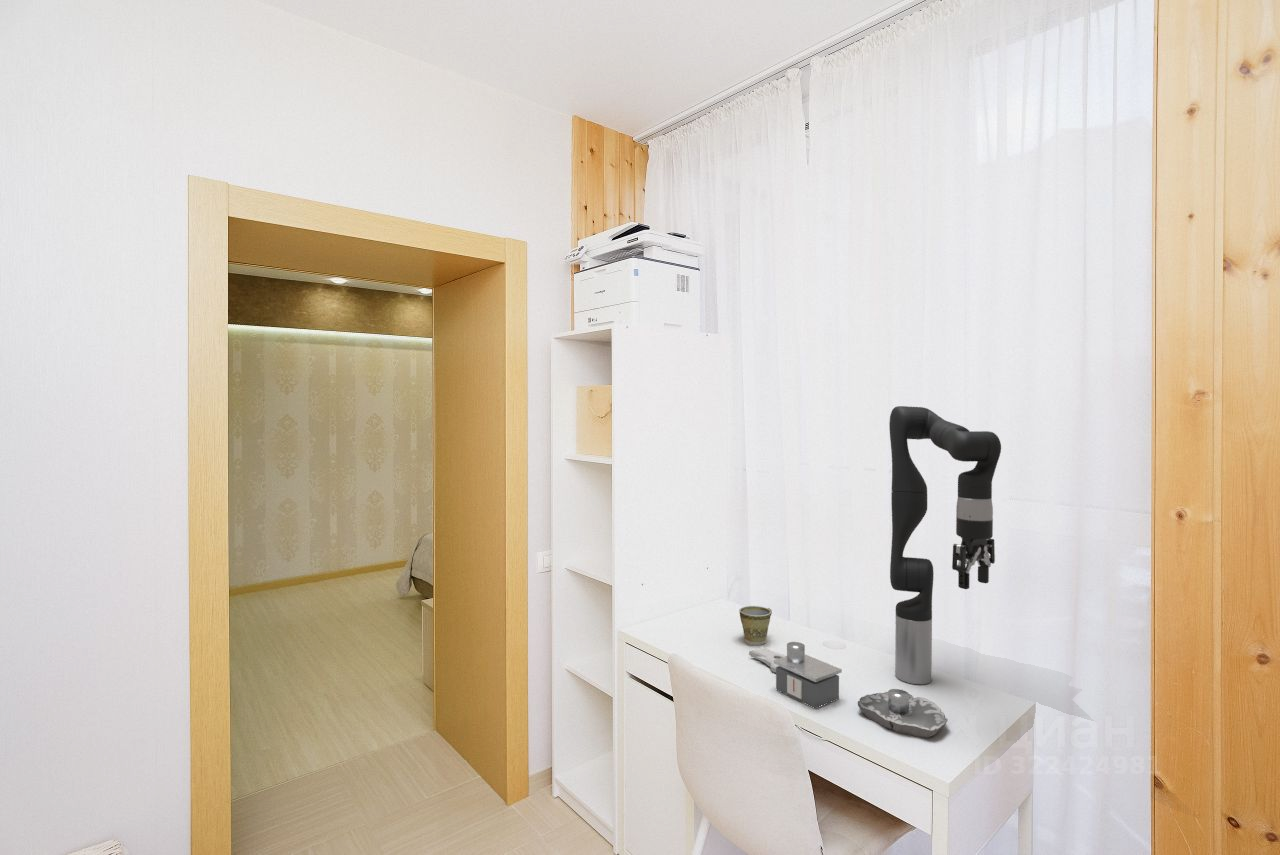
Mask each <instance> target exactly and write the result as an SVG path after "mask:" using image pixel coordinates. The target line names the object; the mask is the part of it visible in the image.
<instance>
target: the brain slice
mask: <svg viewBox="0 0 1280 855" xmlns="http://www.w3.org/2000/svg"><path fill="white" fill-rule="evenodd" d="M857 707H858V708H859V710H860V712H861V713H863V714H864V716H865V717H866V718H868V719H869V718H870V720H872V721H874V722H875V723H877V724H879V725H881V726H882V727H884V728H886V729H890V730H892V731H893V732H896V733H899V734H903V735H910V736H912V737H917V738H923V739H928V738H931V737H933V736H934V735H936V734H937V733H938V732H939V731H940V730H941V729H942V728H943V727H944V725H946V724H947V722H948V721H949V719H948V718H947V717H946V716H945V713H944V712H943V711H942V709H941V708H940V707H939V706H937V704H936V703H934V701H930V700H929V699H928V698H926V697H925V698H924V697H914V696H913V695H912V694H910V693H909V713H907V714H896V713H893V712H891V711H890V710H889V709H888V691H885V692H877V693H872V694H866V695H864V696H861V697H860V698H859V700H858V701H857Z"/></svg>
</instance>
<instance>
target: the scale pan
mask: <svg viewBox="0 0 1280 855" xmlns="http://www.w3.org/2000/svg"><path fill="white" fill-rule="evenodd" d="M774 664H776V665H778V666H781V667H783V668H785V669H787V670H789V671H792V672H794V673H796V674H798V675H801V676H803V677H805V678H807V679H810V680H812V681H814V682H818V681H820V680H823V679H826V678H828V677H831V676H834V675H839V674H842V672H843V671H842V668H839V667H838V666H834V665H831V664H830V663H827V662H825V661H823V660H821V659H818V658H816V657H812V656H810V655H808V654H805V661H804V662H803V663H791V662H789V661H788V660H787V655H786V656H785V657H782V658H779V659H776V660H774Z"/></svg>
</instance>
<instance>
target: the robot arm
mask: <svg viewBox="0 0 1280 855" xmlns="http://www.w3.org/2000/svg"><path fill="white" fill-rule="evenodd" d="M888 423H889V439H890V450H891V452H890V453H891V495H890V496H891V527H892V529H891V530H892V531H891V548H890V549H891V552H890V564H889V566H890V567H889V570H890V571H889V579H890V580H889V582H890V586H891V588H892V589H893V590H895V591H900V592H911V593H918V594H917V595H916V596H914V597H912V598H909V599H905V600H901V601H899V602H897V603H896V606H895V620H894V622H895V623H894V624H895V628H894V629H895V642H894V643H895V652H894V653H895V658H894V660H895V662H894V666H895V667H894V669H895V670H894V672H895V673H894V676H895V677H896V678H897V679H898V680H899V681H902V682H905V683H908V684H913V685H927V684H930V683H932V675H933V674H932V673H933V672H932V669H933V668H932V667H933V664H932V663H933V662H932V660H933V656H932V655H933V654H932V653H933V648H932V647H933V589H934V565H933V563H932V561H931V560H930V559H929V558H923V557H922V558H921V557H909V556H907V557H906V556H904V551H905V548H906V545H907V543H908V541H909V540H910V537H911V536H912V534H913V533H914V531H915V530H916V529H917V527H918V526H919V524H920V523H921V522H922V521H923V519H924V517H925V516H926V514H927V511H928V486H927V483H926V480H925V478H924V477H923V475H922V474H921V472H920V470H919V469H918V468H917V466H916V464H915V463H914V461H913V460H912V457H911V453H910V451H909V450H910V449H909V445H908V444H909V443H908V440H926V439H927V440H930V442H932V443H933V444H934V445H935V446H936V447H937V448H939V449H942V450H944V451H946V452H948V453H949V455H950V457H951V458H952V459H954V460H955V461H958V462H959V461H960V462H976V463H975V466H974V468H972V469H970V470H967V471H964V472H961V473H959V474H958V476H957V499H956V500H957V501H956V511H955V513H956V518H955V522H956V523H955V528H956V529H955V534H956V535H957V536H958V537H960V538H961V543H960V544H958V543H953V544H952V560H951V561H952V562H951V563H952V565H951V568H952V570H954V571H956V572H957V573H958V574H957V575H958V579H957V580H958V585H957V586H958V588H960V589H962V590H963V589H964V590H968V589H970V575H971V574H970V571H971V569H972V566H975V565H976V563H977V565H978V566H977V581H978V583H982V584H988V583H989V582H990V581H989V580H990V577H989V576H990V570H989V569H990V568H991V566H992V564H995V562H996V555H995V548H996V547H995V539H994V538H993V536H994V534H993V529H994V528H993V526H994V520H993V519H994V518H993V515H994V510H993V509H994V506H993V499H992V496H993V495H992V494H993V493H992V492H993V478H994V475H995V472H996V469H997V464H998V462H999V459H1000V456H1001V452H1002V443H1001V440H1000V438H999V436H998V435H997V434H996V433H995V432H993V431H985V430H983V431H979V430H977V431H971V430H970V429H968V428H966V427H965V426H962V425H960V424H957V423H954V422H952V421H948V420H945V419H944V418H942V417H941V416H939V415H938V414H937V413H935V412H934V411H932V410H931V409H929V408H927V407H923V406H906V405H905V406H904V405H902V406H901V405H899V406H895V407H894V408H892V410H891V411H890V416H889V422H888Z"/></svg>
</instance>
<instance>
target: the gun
mask: <svg viewBox="0 0 1280 855" xmlns="http://www.w3.org/2000/svg"><path fill="white" fill-rule="evenodd" d="M748 655H749V656H750V657H751V658H753V659H755V660H758V661H760V662H762V663H764V664H765V665H766V666H768V667H769V666H770V671H771V672H772V671H773V672H772V673H774V672H775V673H774V674H776V667H778V665H776V664H774V660H776V659H779V658H782V657H785V656H787V654H786V655H785V654H781V653H779V652H776V651H774V650H770V649H767V648H765V647H763V646H758V648H756V649H752V650H750V651H749V653H748Z"/></svg>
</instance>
